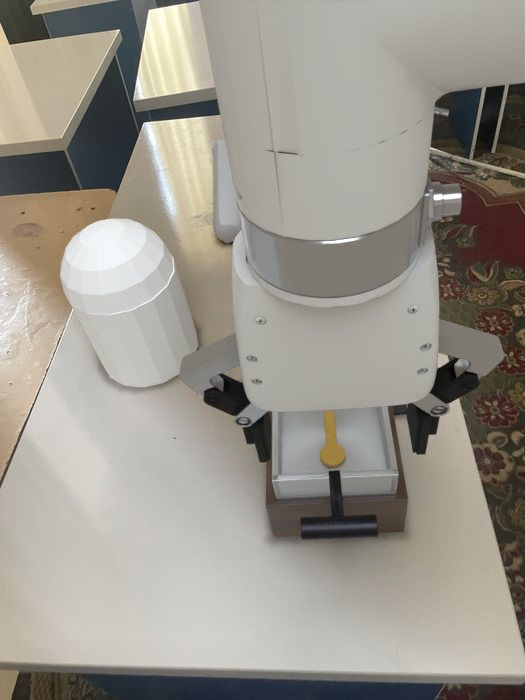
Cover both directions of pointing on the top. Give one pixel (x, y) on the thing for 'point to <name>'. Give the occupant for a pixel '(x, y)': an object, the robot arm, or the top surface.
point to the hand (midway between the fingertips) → (339, 438)
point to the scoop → (343, 481)
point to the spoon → (331, 443)
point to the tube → (224, 196)
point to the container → (129, 301)
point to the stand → (385, 507)
